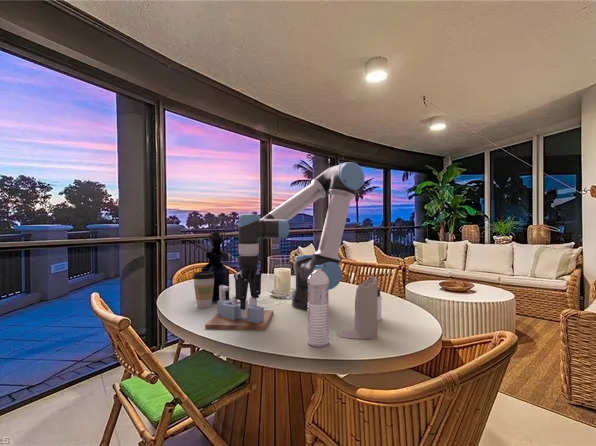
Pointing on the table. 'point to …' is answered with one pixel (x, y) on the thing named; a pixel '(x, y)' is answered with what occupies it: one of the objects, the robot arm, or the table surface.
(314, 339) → the water bottle
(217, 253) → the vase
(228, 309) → the link
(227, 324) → the board
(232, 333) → the table surface
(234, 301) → the pintle
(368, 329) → the metal bookend
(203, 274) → the coffee cup
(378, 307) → the jar
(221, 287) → the bracket
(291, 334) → the table surface
